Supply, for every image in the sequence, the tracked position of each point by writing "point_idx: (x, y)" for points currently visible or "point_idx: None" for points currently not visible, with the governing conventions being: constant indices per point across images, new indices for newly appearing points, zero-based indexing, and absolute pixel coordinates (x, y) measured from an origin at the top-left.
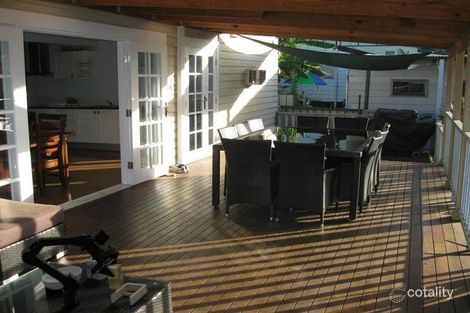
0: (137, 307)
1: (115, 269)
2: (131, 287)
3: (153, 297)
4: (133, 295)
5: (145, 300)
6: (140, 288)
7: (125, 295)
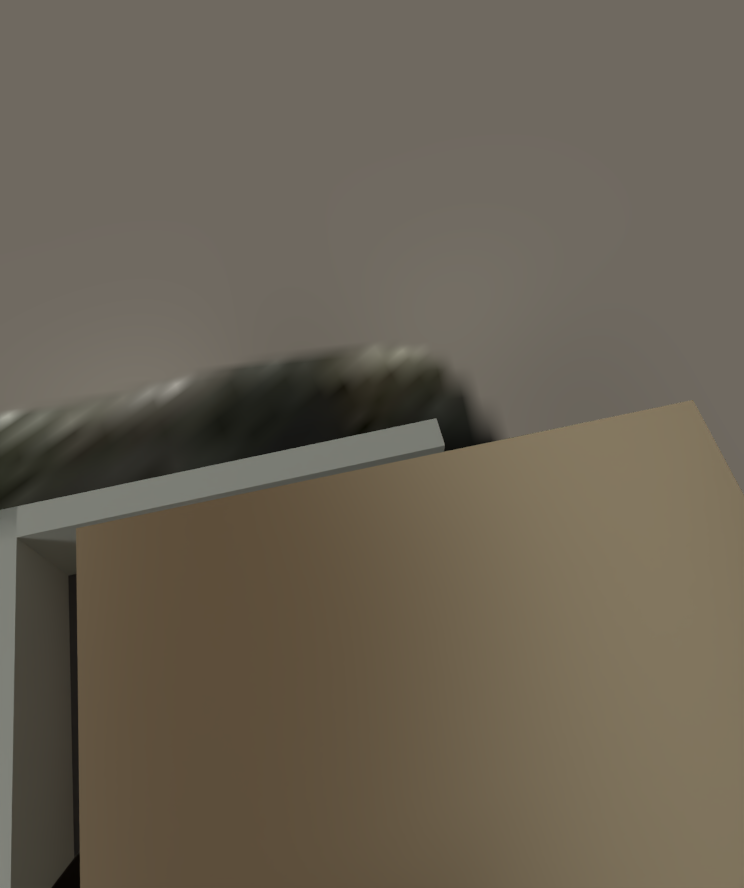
0: (434, 381)
1: (656, 433)
2: (46, 834)
3: (160, 385)
4: (372, 433)
5: (259, 416)
6: (135, 508)
7: None
